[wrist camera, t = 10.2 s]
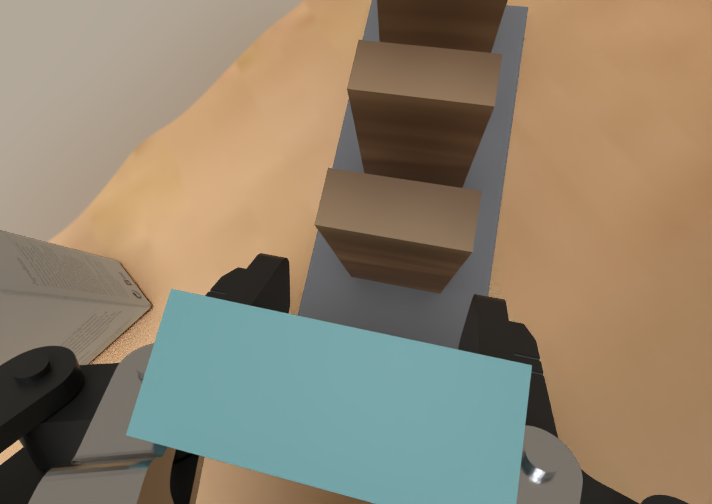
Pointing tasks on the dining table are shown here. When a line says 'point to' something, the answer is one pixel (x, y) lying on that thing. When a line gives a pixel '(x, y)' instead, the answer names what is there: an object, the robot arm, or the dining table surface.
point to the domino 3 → (398, 228)
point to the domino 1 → (441, 23)
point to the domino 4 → (333, 405)
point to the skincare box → (62, 299)
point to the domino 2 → (421, 109)
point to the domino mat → (450, 307)
